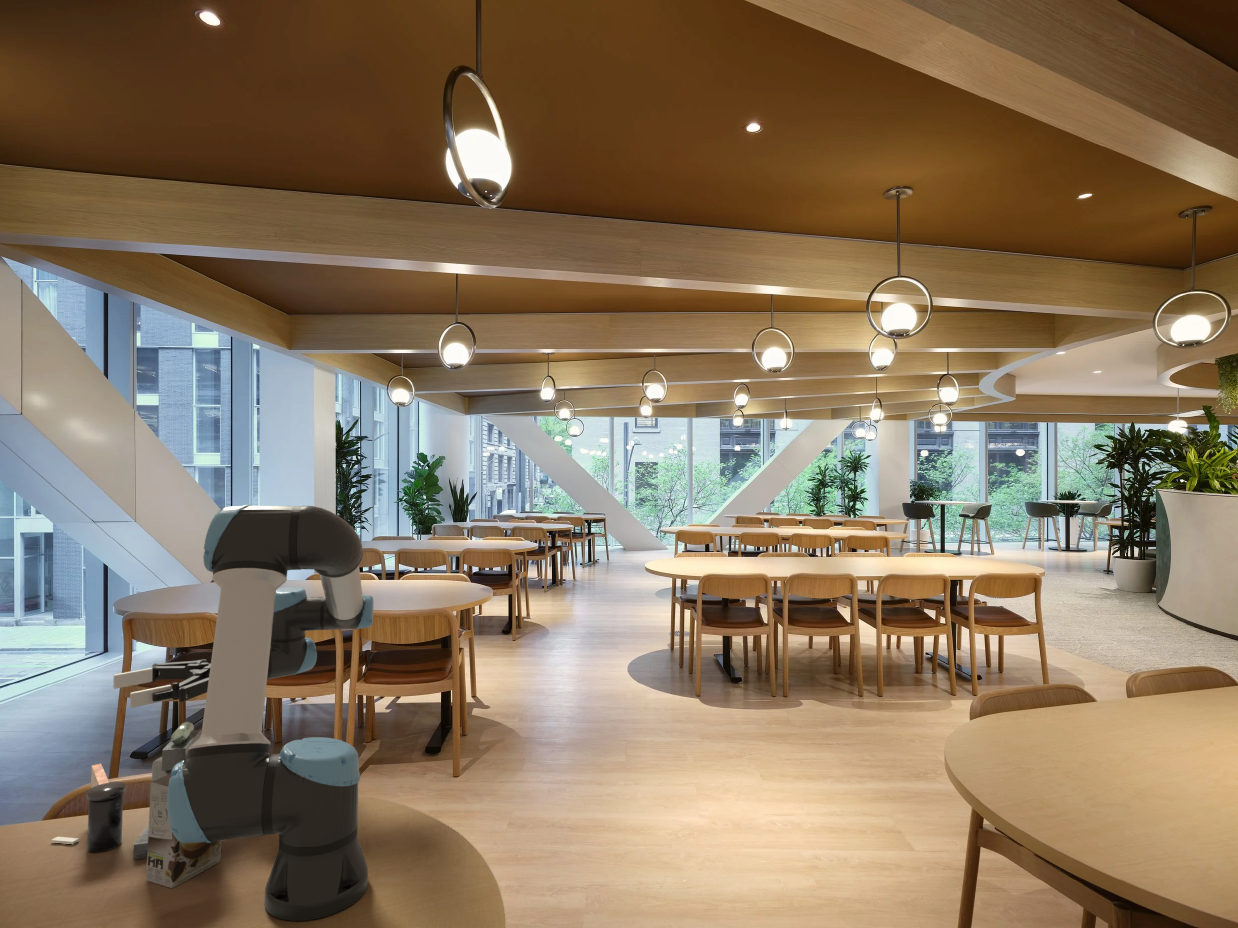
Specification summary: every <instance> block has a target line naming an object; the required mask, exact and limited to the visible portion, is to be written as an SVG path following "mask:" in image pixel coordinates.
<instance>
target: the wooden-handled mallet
mask: <svg viewBox="0 0 1238 928" xmlns="http://www.w3.org/2000/svg"><path fill="white" fill-rule="evenodd" d="M90 771H91V774H90V777H91V778H90V788H89V789H88V790H86V800H87V801H88V811H87V812H88V814H87V815H88V816H87V839H86V841H87V843H86V844H87V845H86V851H87V852H90V853H102V852H105V851H109V850H112V849H114V848H117V847H118V846H119V845H121V843H122V840H123V837H122V836H123V814H124V813H123V811H124V810H123V809H124V793H125V792H126V788H127V787H126V786H127V785H126V783H125V782H121V781H109V779H108V777H107V774H106V772H105V770H104V767H103V765H102V763H97V764H91V770H90ZM91 785H92V786H91Z"/></svg>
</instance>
